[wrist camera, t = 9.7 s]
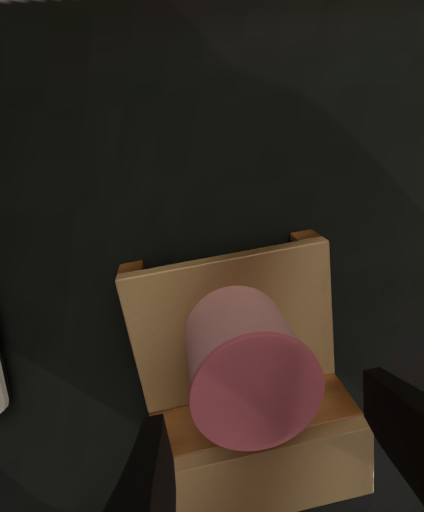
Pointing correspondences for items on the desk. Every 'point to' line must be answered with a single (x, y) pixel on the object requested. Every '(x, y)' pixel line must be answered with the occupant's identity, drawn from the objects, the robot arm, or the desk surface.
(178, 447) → the step shelf
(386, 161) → the desk surface
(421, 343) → the desk surface
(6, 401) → the smartphone
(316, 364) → the pink cylinder
